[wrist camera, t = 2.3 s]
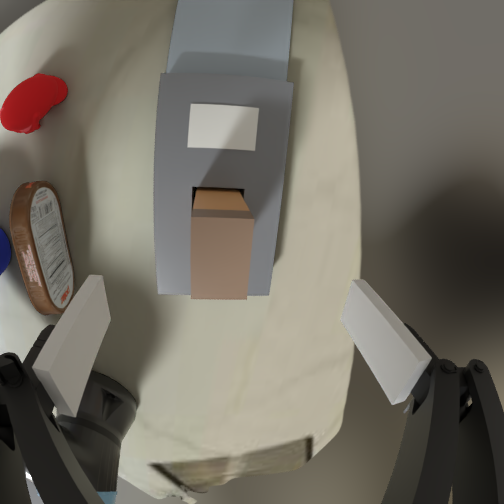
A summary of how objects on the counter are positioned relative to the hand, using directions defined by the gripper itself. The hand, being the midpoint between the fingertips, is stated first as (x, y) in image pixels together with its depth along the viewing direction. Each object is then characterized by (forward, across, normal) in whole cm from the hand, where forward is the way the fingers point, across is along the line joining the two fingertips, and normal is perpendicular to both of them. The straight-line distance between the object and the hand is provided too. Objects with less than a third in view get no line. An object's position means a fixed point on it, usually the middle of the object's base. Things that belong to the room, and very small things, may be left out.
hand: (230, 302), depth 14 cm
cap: (+17, -21, +13) cm, 30 cm away
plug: (+17, 0, 0) cm, 17 cm away
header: (+17, 0, +3) cm, 17 cm away
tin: (+17, -19, -3) cm, 26 cm away
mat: (+17, 0, +20) cm, 26 cm away
